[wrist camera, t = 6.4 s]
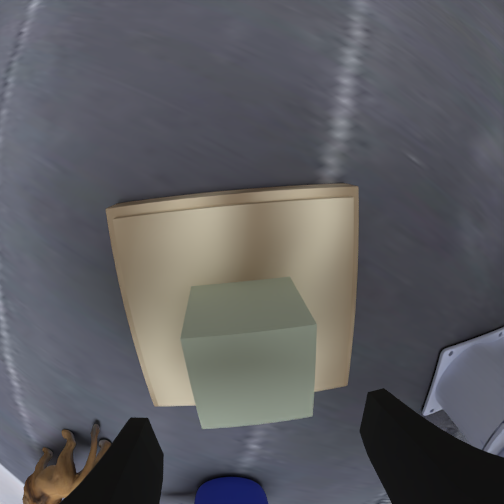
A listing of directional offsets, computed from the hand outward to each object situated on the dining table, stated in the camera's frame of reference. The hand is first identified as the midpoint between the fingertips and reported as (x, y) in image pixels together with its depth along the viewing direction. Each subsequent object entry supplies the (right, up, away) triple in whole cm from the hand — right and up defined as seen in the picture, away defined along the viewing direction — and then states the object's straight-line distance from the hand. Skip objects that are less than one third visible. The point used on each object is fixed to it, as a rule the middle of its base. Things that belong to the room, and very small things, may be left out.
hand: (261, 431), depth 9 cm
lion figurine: (-18, -14, +14) cm, 27 cm away
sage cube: (-1, +2, +8) cm, 8 cm away
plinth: (-1, +3, +10) cm, 10 cm away
